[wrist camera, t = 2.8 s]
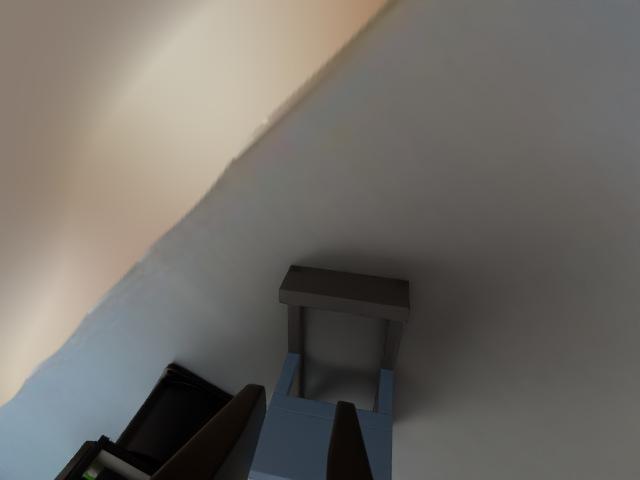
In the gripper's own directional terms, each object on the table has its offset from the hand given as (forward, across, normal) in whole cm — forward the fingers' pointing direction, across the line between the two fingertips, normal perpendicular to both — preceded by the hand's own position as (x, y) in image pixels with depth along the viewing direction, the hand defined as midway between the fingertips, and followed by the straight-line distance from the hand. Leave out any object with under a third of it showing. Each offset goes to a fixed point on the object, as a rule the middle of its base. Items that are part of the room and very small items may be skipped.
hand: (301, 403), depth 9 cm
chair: (+12, 0, +11) cm, 16 cm away
